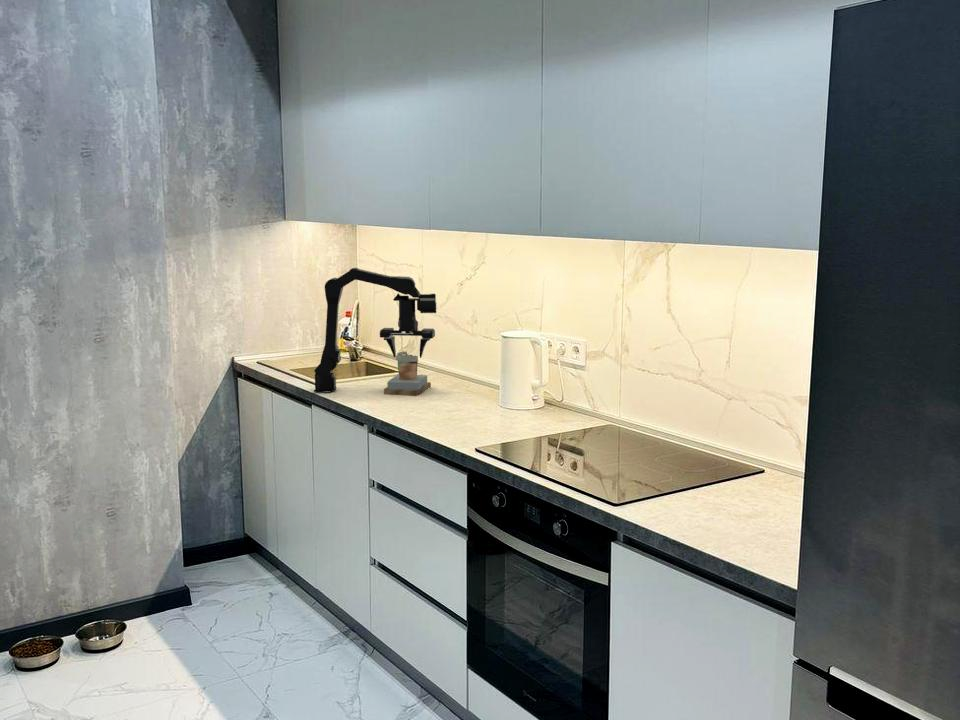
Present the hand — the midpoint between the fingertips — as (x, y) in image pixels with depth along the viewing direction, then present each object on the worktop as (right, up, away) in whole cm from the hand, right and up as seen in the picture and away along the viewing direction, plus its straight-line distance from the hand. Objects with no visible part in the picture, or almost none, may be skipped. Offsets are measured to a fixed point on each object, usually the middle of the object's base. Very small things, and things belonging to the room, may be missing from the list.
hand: (407, 357), depth 345 cm
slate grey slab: (0, -10, +2) cm, 10 cm away
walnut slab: (0, -12, +2) cm, 13 cm away
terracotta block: (0, -8, +1) cm, 8 cm away
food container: (-3, -9, +21) cm, 23 cm away
